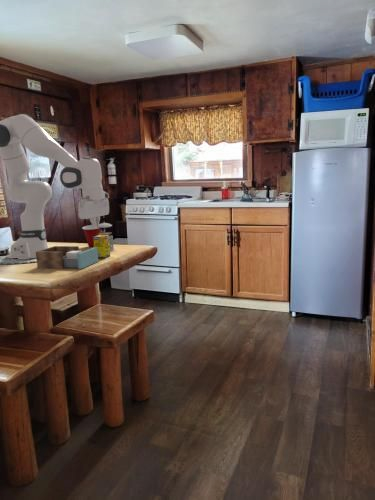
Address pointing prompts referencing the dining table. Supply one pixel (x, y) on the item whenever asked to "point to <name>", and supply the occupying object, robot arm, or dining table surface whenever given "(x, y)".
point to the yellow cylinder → (102, 245)
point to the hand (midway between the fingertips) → (95, 227)
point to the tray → (82, 259)
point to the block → (72, 254)
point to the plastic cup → (90, 234)
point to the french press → (107, 234)
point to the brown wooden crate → (53, 256)
